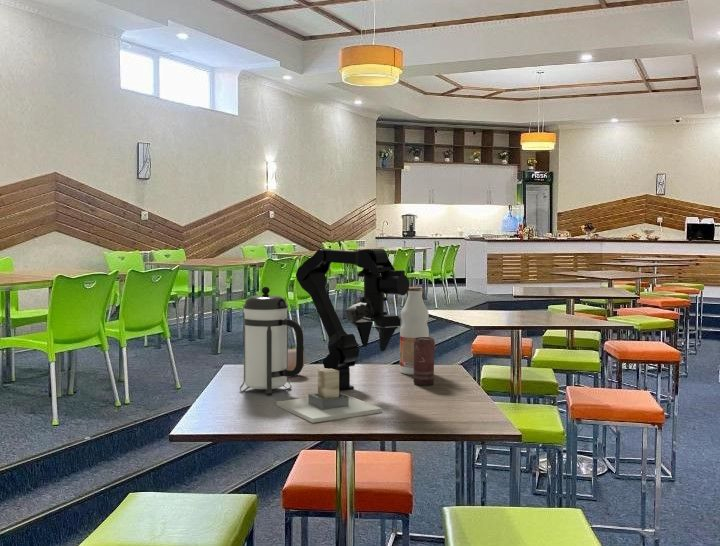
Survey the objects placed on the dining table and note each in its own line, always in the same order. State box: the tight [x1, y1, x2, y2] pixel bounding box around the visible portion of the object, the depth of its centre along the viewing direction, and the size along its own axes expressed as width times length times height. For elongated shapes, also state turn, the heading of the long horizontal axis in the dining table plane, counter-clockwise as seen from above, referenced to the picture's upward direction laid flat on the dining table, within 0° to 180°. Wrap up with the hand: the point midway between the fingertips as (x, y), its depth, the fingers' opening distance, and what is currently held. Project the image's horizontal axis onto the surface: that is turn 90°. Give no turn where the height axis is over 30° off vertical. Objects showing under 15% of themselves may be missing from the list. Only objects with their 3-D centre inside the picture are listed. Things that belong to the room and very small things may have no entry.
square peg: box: [317, 368, 340, 399], centre depth 183 cm, size 4×4×9 cm
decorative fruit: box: [288, 344, 307, 371], centre depth 225 cm, size 9×8×10 cm
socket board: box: [276, 392, 383, 424], centre depth 183 cm, size 20×20×1 cm
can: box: [412, 336, 436, 387], centre depth 214 cm, size 6×6×14 cm
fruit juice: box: [399, 286, 430, 376], centre depth 231 cm, size 9×9×28 cm
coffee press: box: [239, 286, 304, 397], centre depth 203 cm, size 17×16×30 cm
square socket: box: [307, 392, 349, 410], centre depth 183 cm, size 8×8×2 cm
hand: (373, 348), depth 199 cm, fingers open, 9 cm apart
